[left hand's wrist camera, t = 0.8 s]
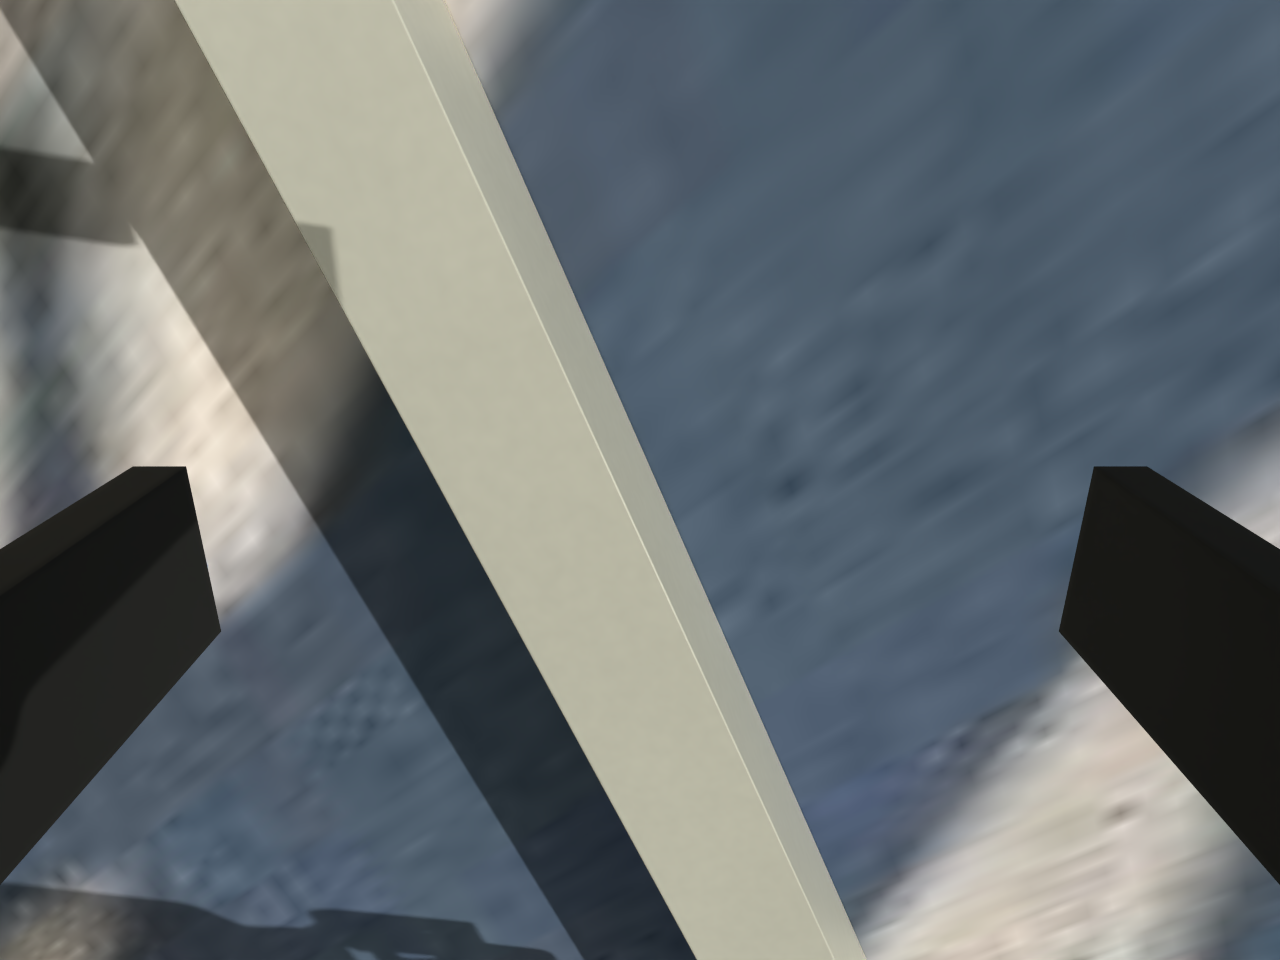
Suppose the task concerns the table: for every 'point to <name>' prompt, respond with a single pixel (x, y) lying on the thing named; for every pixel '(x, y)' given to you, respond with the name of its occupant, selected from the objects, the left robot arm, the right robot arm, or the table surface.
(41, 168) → the table surface
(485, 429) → the bar
